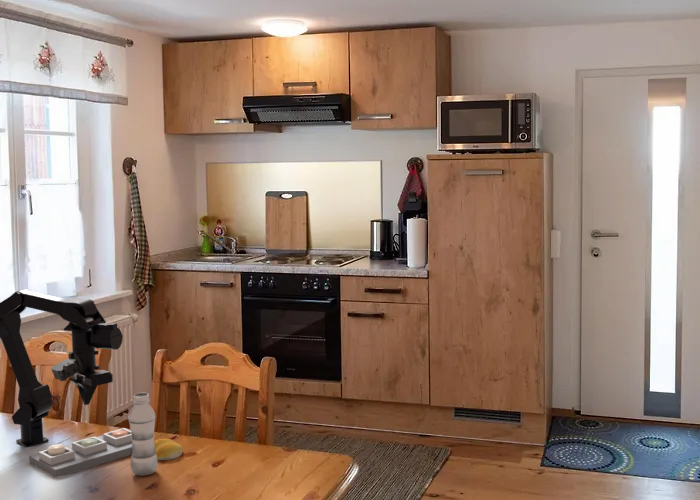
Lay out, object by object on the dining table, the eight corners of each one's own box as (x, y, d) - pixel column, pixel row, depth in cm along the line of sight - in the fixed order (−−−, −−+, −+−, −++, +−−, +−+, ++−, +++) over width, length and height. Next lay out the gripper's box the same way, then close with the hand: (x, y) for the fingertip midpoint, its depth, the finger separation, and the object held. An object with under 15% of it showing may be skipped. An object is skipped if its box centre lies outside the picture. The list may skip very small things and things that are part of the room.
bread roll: (160, 464, 212) (160, 448, 212) (144, 454, 219) (143, 440, 218) (189, 455, 217) (188, 441, 217) (172, 447, 224) (171, 432, 224)
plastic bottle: (163, 470, 207) (160, 392, 205) (148, 480, 201) (144, 399, 199) (141, 467, 209) (137, 389, 207) (125, 477, 203) (121, 397, 201)
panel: (29, 463, 213) (28, 449, 212) (119, 437, 232) (119, 424, 231) (56, 477, 203) (55, 462, 203) (147, 449, 222) (147, 435, 222)
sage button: (78, 448, 217) (78, 441, 217) (92, 444, 220) (92, 437, 220) (86, 451, 214) (86, 445, 214) (100, 447, 217) (100, 441, 217)
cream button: (45, 453, 211) (45, 447, 210) (60, 449, 213) (60, 443, 213) (53, 457, 208) (52, 450, 208) (68, 453, 211) (67, 446, 210)
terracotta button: (109, 439, 224) (109, 433, 223) (122, 435, 226) (122, 429, 226) (117, 442, 221) (117, 436, 221) (130, 438, 224) (130, 432, 224)
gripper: (37, 347, 221) (41, 404, 223) (72, 358, 208) (76, 419, 210) (76, 340, 229) (79, 395, 231) (112, 350, 216) (115, 409, 218)
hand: (86, 404), depth 222 cm, fingers closed
